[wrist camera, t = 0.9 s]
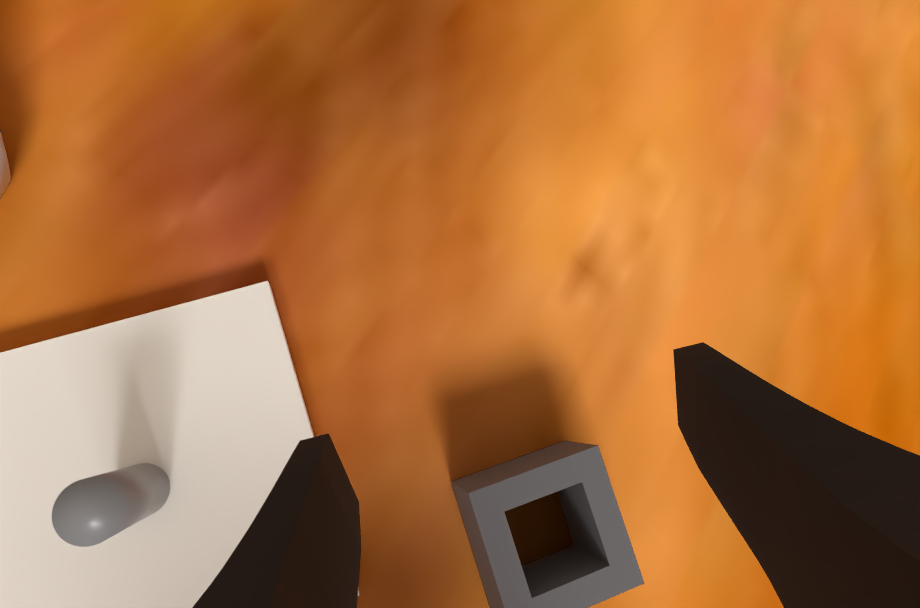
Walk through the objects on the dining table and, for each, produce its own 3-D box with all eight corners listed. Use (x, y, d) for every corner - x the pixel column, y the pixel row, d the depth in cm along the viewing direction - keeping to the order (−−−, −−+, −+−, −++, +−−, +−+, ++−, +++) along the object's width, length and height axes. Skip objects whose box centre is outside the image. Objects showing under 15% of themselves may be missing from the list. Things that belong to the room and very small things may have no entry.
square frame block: (604, 560, 26) (644, 583, 22) (489, 607, 25) (514, 639, 21) (564, 440, 26) (598, 445, 23) (450, 482, 25) (468, 493, 22)
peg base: (358, 587, 24) (365, 645, 18) (9, 723, 21) (-115, 841, 15) (270, 285, 25) (250, 248, 19) (-72, 378, 22) (-215, 367, 17)
